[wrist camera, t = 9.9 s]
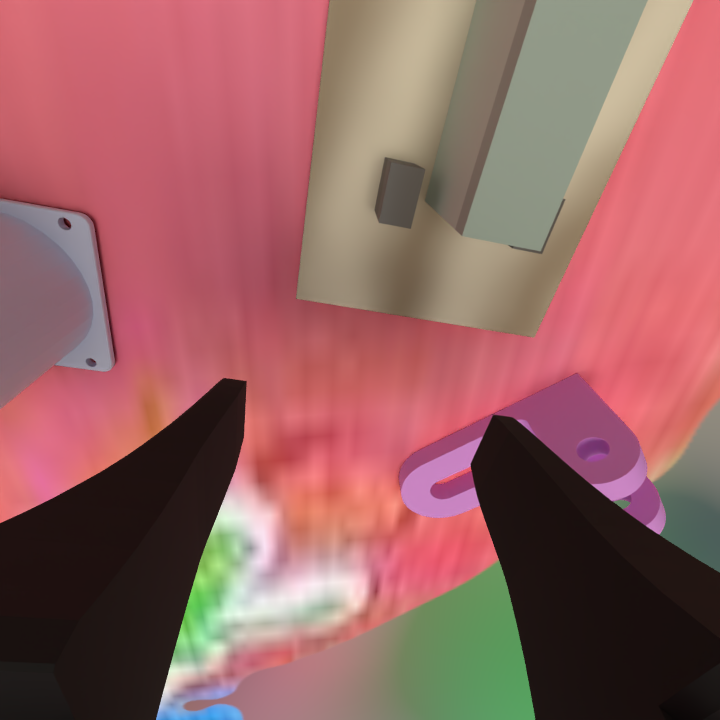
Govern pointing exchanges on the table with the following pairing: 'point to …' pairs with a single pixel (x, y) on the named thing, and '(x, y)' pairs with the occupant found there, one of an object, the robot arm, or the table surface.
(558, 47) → the door
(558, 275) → the beige board with pegs
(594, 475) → the bracket
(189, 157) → the table surface
